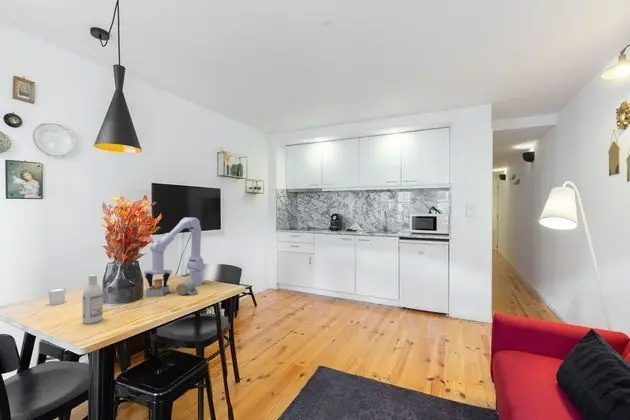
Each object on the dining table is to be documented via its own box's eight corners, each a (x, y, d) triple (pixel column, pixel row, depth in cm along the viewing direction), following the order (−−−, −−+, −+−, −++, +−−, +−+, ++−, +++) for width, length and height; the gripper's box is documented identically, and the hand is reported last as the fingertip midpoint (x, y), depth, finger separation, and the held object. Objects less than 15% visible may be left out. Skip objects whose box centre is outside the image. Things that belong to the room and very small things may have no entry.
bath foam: (106, 317, 131) (106, 273, 131) (96, 323, 124) (96, 276, 124) (89, 318, 130) (89, 273, 130) (78, 324, 123) (78, 277, 123)
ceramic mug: (175, 295, 165) (175, 281, 165) (184, 291, 173) (184, 278, 173) (192, 296, 163) (192, 283, 163) (200, 292, 171) (200, 279, 171)
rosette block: (152, 291, 172) (152, 285, 172) (168, 291, 173) (169, 284, 173) (146, 296, 163) (146, 289, 163) (163, 295, 164) (163, 288, 164)
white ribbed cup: (49, 306, 145) (50, 292, 145) (46, 303, 150) (46, 290, 150) (67, 303, 151) (67, 289, 151) (63, 300, 155) (64, 287, 155)
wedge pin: (156, 292, 170) (156, 279, 170) (162, 292, 170) (162, 279, 170) (153, 294, 166) (153, 280, 166) (159, 294, 167) (160, 280, 167)
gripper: (141, 264, 163) (141, 288, 163) (168, 264, 165) (168, 288, 165) (147, 262, 170) (146, 285, 170) (173, 261, 172) (173, 284, 172)
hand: (157, 286), depth 168 cm, fingers open, 7 cm apart
